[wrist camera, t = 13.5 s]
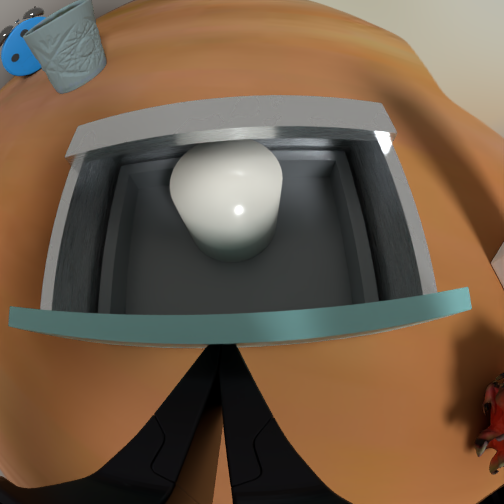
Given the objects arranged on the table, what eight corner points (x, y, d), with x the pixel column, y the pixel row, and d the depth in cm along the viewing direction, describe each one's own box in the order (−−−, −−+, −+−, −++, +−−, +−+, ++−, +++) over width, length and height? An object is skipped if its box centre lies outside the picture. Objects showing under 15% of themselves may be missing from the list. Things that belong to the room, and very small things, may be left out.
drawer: (380, 332, 15) (471, 308, 7) (104, 343, 15) (8, 326, 7) (350, 176, 19) (388, 88, 11) (121, 190, 19) (68, 113, 11)
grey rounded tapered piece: (280, 260, 15) (288, 224, 11) (188, 264, 15) (164, 231, 11) (272, 182, 17) (276, 134, 13) (192, 187, 17) (175, 141, 13)
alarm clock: (61, 47, 35) (41, 1, 20) (68, 49, 33) (46, -2, 19) (15, 84, 31) (-11, 40, 17) (17, 89, 30) (-11, 40, 16)
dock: (377, 320, 15) (449, 294, 8) (106, 331, 15) (28, 312, 8) (346, 168, 19) (376, 94, 12) (124, 182, 19) (82, 117, 12)
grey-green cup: (59, 77, 28) (33, 25, 17) (113, 49, 29) (93, -9, 18) (49, 107, 25) (13, 46, 13) (113, 72, 26) (86, 1, 15)
